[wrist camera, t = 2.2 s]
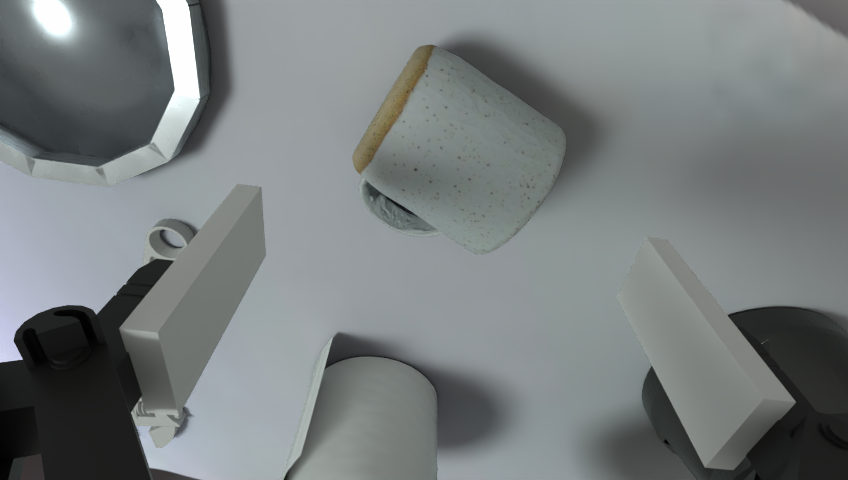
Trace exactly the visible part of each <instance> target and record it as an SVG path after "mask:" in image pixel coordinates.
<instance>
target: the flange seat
mask: <svg viewBox="0 0 848 480" xmlns="http://www.w3.org/2000/svg"><path fill="white" fill-rule="evenodd" d="M210 79H211V52H210V44H209V38H208V32H207V26H206V23H205V19H204V16H203V12H202V9H201V5H200V2H199V0H0V160H1V161H3V162H4V163H6V164H8V165H10V166H12V167H14V168H16V169H17V170H19V171H21V172H23V173H25V174H27V175H29V176H30V177H31V176H32V177H35V178H43V179H50V180H58V181H66V182H73V183H81V184H88V185H96V186H104V187H111V186H113V185H115V184H118V183H120V182H122V181H125V180H127V179H129V178H132V177H134V176H136V175H139V174H141V173H143V172H146V171H148V170H150V169H153V168H155V167H157V166H160V165H162V164H164V163H167V162H169V161H170V160H171V159H173V158H174V157H175V156H177V155H178V154H179V153H180V152H181V150H182V148H183V146H184V144H185V142H186V140H187V138H188V137H189V136H190V135H191V133H192V132H193V130H194V129H195V127H196V125H197V124H198V122H199V120H200V118H201V116H202V113H203V111H204V108H205V106H206V102H207V99H208V97H209V95H210V94H209V93H210Z"/></svg>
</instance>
